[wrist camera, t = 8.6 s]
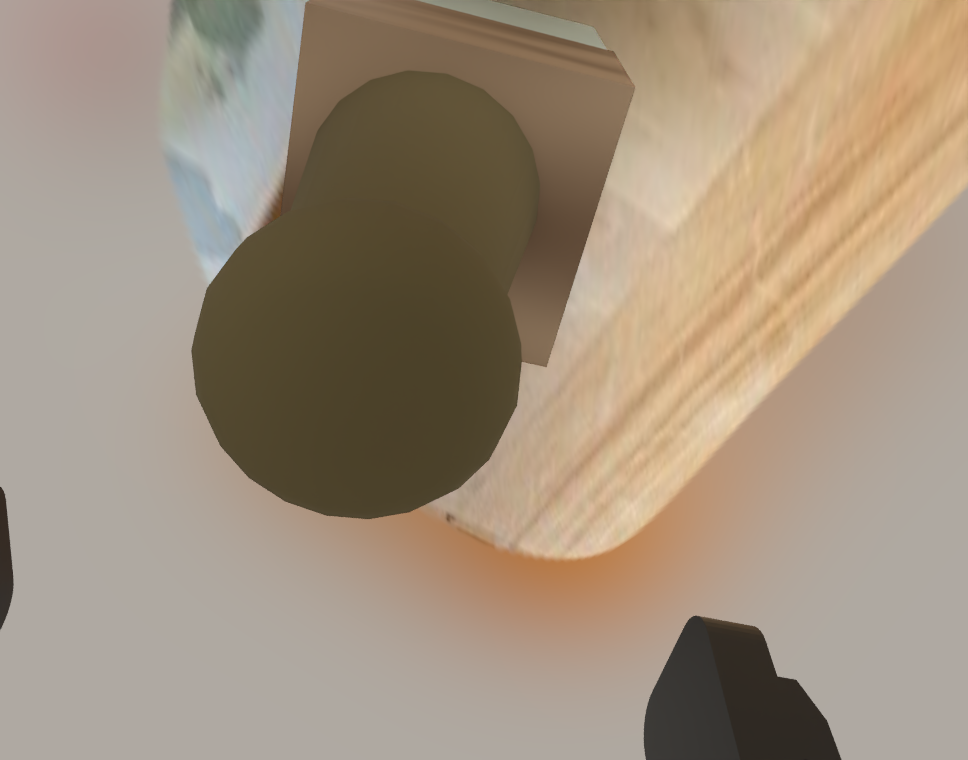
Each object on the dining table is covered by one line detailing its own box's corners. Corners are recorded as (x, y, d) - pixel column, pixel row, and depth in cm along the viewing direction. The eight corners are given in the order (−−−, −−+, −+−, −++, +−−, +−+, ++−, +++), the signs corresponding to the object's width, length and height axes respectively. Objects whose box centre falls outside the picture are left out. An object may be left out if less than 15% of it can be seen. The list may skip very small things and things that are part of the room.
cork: (417, 341, 24) (342, 633, 14) (257, 179, 22) (44, 393, 12) (588, 207, 22) (636, 444, 12) (429, 13, 20) (336, 115, 10)
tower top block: (342, -20, 24) (305, 2, 20) (613, 51, 25) (635, 86, 20) (306, 240, 28) (269, 305, 24) (540, 294, 29) (546, 367, 24)
